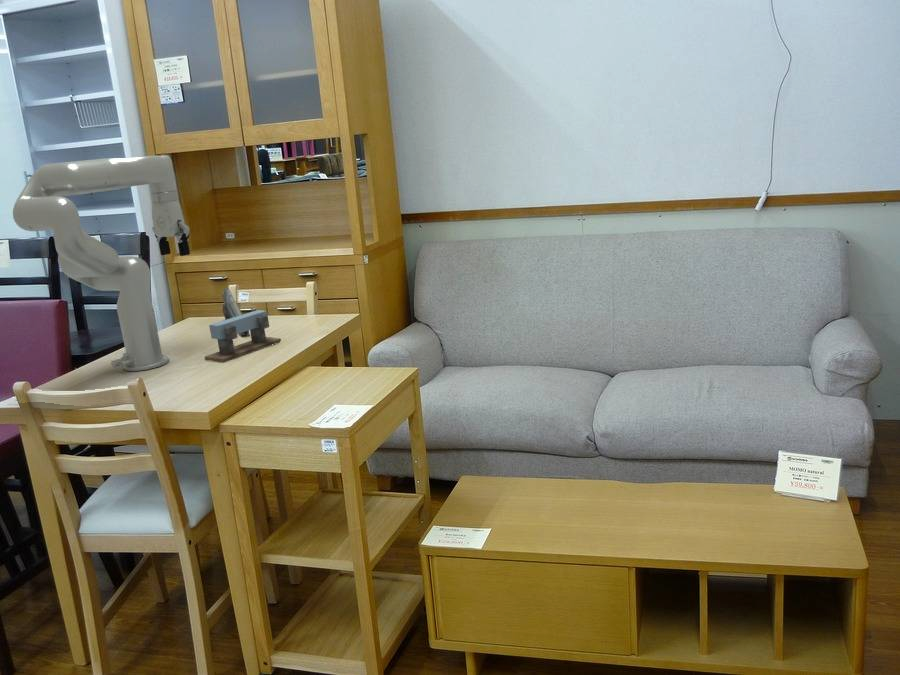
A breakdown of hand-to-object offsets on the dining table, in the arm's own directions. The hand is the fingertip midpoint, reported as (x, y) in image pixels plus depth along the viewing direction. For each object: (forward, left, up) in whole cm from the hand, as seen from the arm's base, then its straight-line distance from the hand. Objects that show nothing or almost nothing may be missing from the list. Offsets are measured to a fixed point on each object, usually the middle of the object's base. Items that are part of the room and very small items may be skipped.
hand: (175, 254), depth 245 cm
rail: (+1, -24, -22) cm, 33 cm away
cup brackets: (+1, -24, -28) cm, 37 cm away
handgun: (+20, +3, -29) cm, 35 cm away
